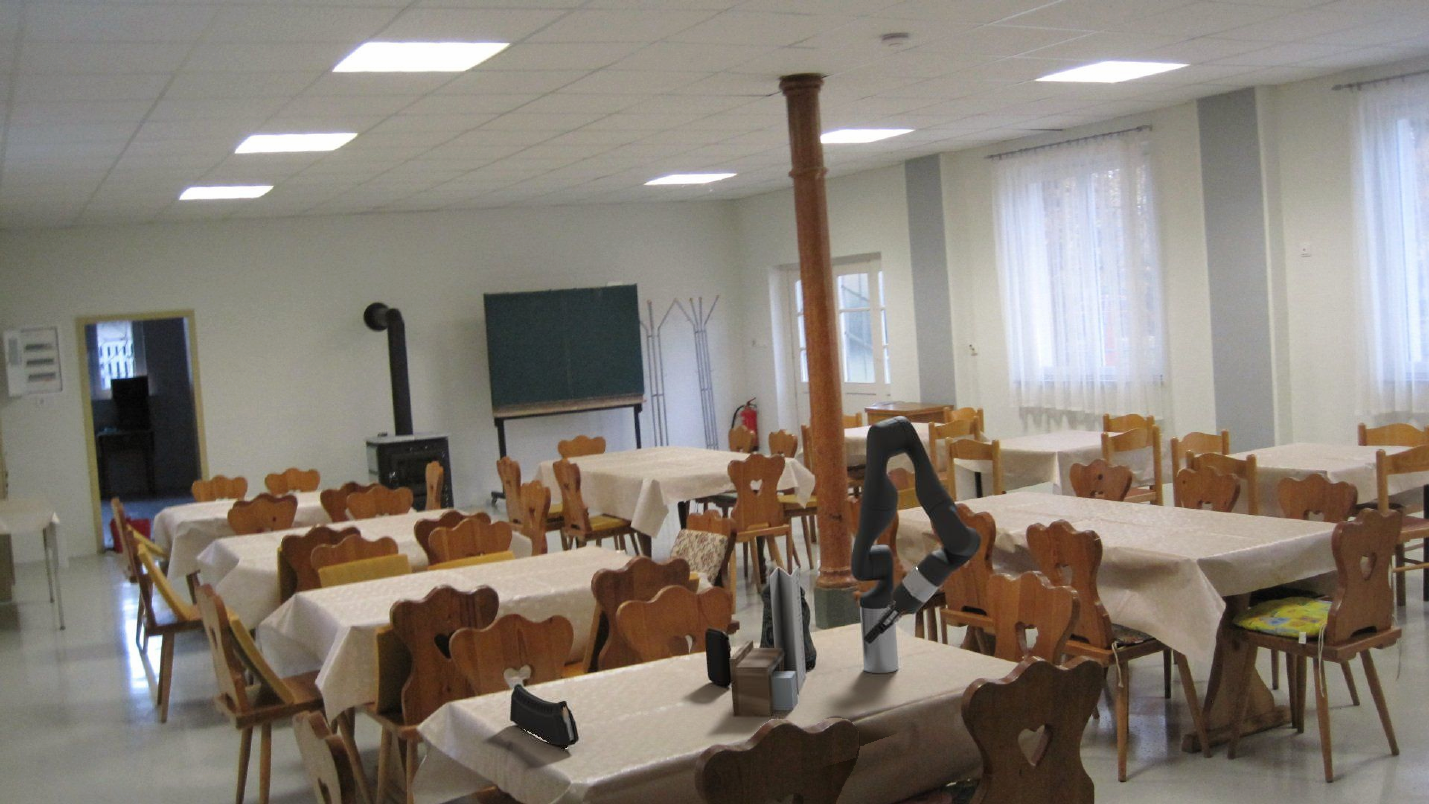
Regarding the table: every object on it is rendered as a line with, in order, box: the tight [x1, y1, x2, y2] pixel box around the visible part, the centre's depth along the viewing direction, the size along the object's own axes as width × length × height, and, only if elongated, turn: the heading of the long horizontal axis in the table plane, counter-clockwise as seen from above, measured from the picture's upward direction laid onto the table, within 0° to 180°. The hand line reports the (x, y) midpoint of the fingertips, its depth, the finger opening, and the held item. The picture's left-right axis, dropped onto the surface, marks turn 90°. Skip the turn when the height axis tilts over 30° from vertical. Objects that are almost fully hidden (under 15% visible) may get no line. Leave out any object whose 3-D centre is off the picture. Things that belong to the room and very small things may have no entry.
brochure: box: [769, 565, 807, 695], centre depth 318 cm, size 14×6×30 cm, turn 168°
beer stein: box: [758, 583, 818, 671], centre depth 337 cm, size 16×19×25 cm
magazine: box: [509, 683, 580, 749], centre depth 290 cm, size 17×3×30 cm
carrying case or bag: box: [704, 627, 732, 688], centre depth 323 cm, size 11×3×15 cm, turn 33°
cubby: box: [729, 639, 785, 718], centre depth 303 cm, size 18×10×14 cm, turn 165°
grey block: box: [771, 671, 799, 711], centre depth 302 cm, size 6×12×8 cm, turn 75°
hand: (866, 640), depth 295 cm, fingers closed
